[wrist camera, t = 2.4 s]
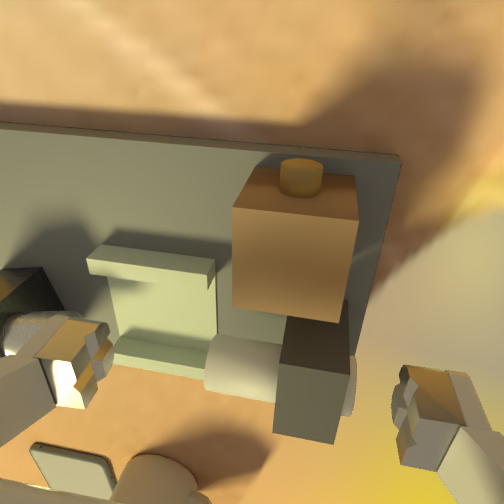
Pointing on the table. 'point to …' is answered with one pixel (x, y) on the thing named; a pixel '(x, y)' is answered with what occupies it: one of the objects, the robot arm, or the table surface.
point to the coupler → (294, 240)
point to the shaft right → (26, 306)
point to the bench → (185, 259)
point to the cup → (157, 483)
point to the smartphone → (74, 471)
